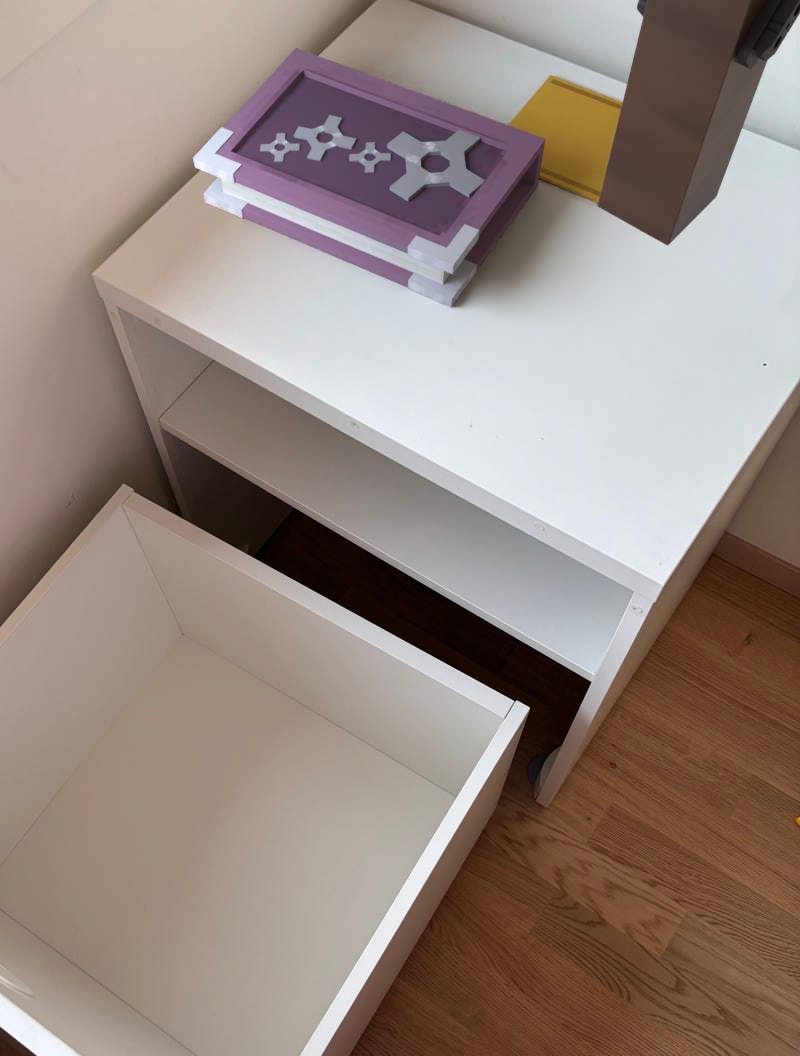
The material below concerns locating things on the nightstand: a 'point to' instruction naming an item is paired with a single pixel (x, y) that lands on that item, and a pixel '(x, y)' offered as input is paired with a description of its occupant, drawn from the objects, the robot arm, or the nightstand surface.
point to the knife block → (680, 113)
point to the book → (372, 173)
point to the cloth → (572, 134)
